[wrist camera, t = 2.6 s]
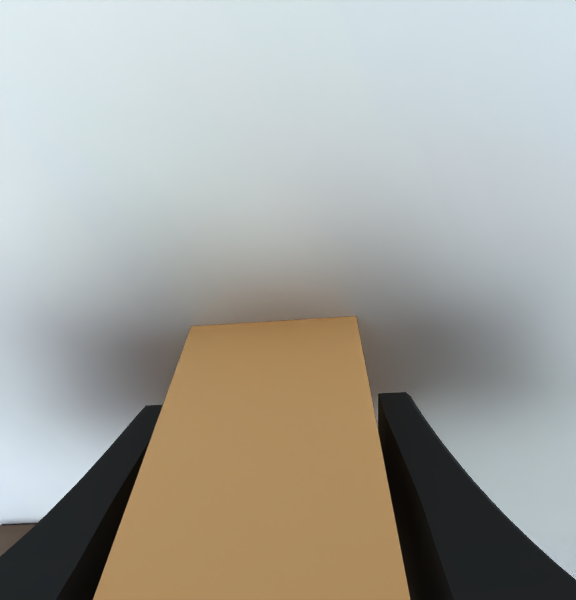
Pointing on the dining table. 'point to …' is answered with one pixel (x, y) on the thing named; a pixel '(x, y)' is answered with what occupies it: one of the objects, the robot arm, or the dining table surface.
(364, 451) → the orange rectangular block
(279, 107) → the dining table surface
